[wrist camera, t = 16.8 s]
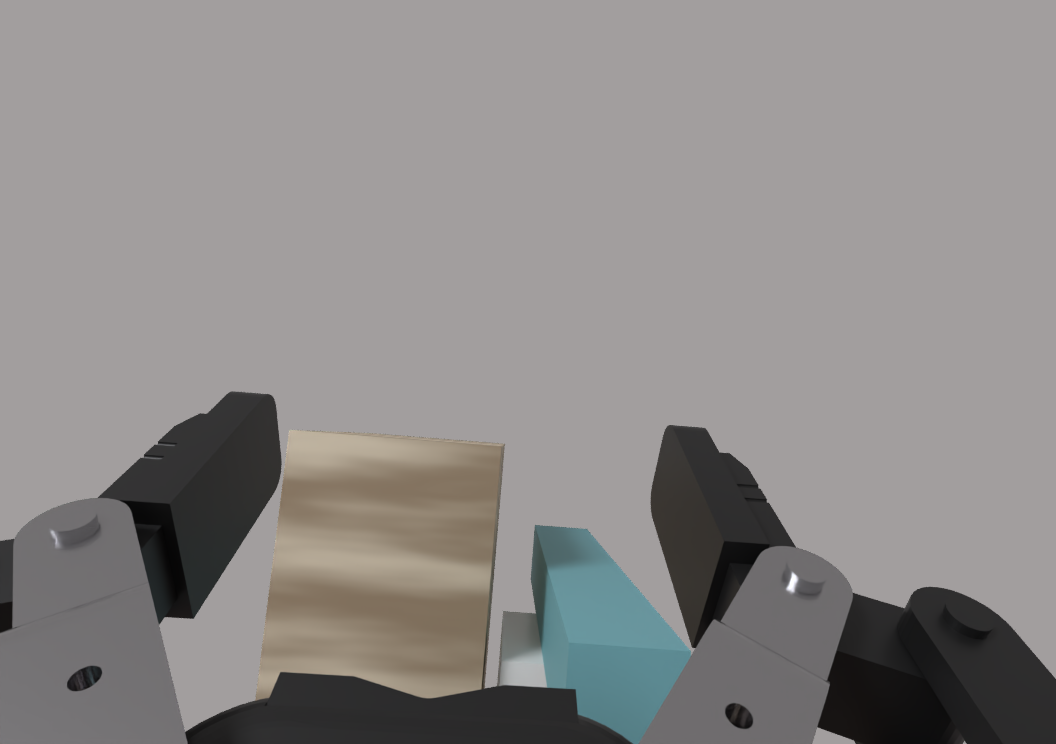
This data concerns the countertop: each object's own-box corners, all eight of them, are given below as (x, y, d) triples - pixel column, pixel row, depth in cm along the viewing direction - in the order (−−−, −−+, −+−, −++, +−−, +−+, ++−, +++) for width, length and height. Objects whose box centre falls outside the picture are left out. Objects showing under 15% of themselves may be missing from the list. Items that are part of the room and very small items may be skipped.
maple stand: (436, 1230, 24) (501, 446, 28) (190, 1217, 24) (289, 430, 27) (465, 914, 40) (504, 443, 44) (318, 905, 40) (370, 433, 43)
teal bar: (684, 782, 19) (690, 651, 19) (560, 774, 19) (569, 642, 19) (583, 582, 44) (586, 529, 45) (530, 578, 44) (534, 525, 45)
